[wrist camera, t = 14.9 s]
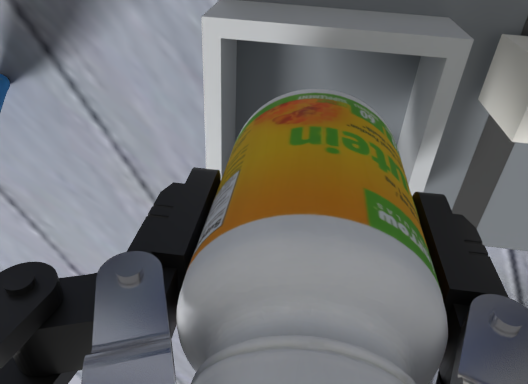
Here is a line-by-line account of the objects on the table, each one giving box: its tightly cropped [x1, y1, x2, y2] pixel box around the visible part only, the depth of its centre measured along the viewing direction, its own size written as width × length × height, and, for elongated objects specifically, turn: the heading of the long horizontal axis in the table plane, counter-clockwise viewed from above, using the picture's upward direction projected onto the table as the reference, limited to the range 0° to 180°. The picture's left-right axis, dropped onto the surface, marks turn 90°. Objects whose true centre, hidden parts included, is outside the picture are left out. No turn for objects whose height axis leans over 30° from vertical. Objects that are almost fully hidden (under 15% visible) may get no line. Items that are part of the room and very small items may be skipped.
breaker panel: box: [202, 0, 528, 251], centre depth 17 cm, size 12×15×6 cm
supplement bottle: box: [176, 89, 448, 384], centre depth 10 cm, size 5×5×10 cm
